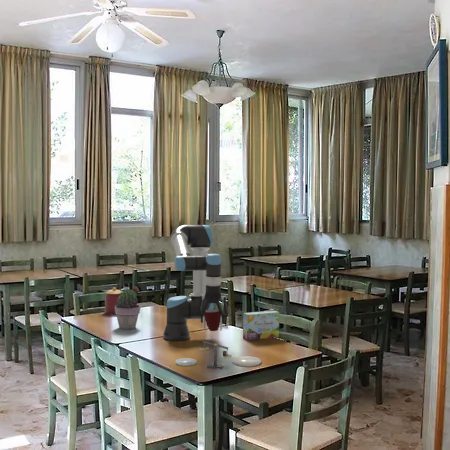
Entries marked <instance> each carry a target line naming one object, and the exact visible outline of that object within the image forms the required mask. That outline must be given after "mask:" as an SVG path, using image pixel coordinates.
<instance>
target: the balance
mask: <svg viewBox="0 0 450 450" xmlns="http://www.w3.org/2000/svg"><path fill="white" fill-rule="evenodd" d="M202 343H203V346H202V347H199V350H200V351H209V349H210V347H207V346H205V345H206V344H208V345H211V346H213V363H212V362H211V363H208V365H207V369H217V370H218V369H221V370H222V369H223V367H224V364H223V363H218V348H221V349H224V350H222V355H221V356H222V358H224V359H225V358H226V359H227V358H228V359H229V358H232V354H228V353H227V351H228V350H229V347H228V346H225V345H221V344H218V343H217V342H215V343H214V342H212V341H207V340H204V339H203V340H202Z"/></svg>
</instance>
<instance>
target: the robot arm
mask: <svg viewBox="0 0 450 450" xmlns="http://www.w3.org/2000/svg"><path fill="white" fill-rule="evenodd" d="M170 243H171V245H172V246H173V248H174V252H175V255H176V256H174V265H173V266H174V270H175V271H182V272H185V271H186V272H187V271H192V291H193V292H192V293H191V294H190V298H188V296H187V295H179V296H177V295H176V296H173V297H170V298H168V299H167V300H166V306H165V307H166V324H165V327H164V331H163V335H162V337H163V339H165V340H168V341H185V340H188V339H190V336H191V334H190V331H189V328H188V327H189V326H188V320H200V323H201V324H202V330H203V331H204V330H205V329H206V321H205V313H204V311H206V310H209V309H214V306H215V305H214V304H216V306H217V309H219V311H220V314H221V317H220V326H219V331H223V324H225V321H226V320H225V317H228V316H229V309H228V304H227V299H228V296H226V295H225V296H224V295H222V292H221V291H222V290H221V289H222V288H221V287H222V286H221V283H222V256H221V254H219V253H209V250H210V249H211V246H212V245H213V244H214V236H213V230H212V227H211V226H210V225H209V224H183V225H179V226H177V227H176V228H175V229H173V231H172V232H171V235H170ZM189 247H190V248H189ZM190 250H192V255H191V251H190ZM220 300H221V301H222V302H223V303H222V304H223V308H222V306H221V302H220Z"/></svg>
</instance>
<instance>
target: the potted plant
mask: <svg viewBox="0 0 450 450" xmlns="http://www.w3.org/2000/svg"><path fill="white" fill-rule="evenodd" d="M138 293H140V289H139V287H137V286H136V285H134V286H133V287H132V288H131V289H128V288H126V289H124V290H122V292H121V293H120V296H119V298H118V301H116V302H118V303H117V305H116V306H115V314H114V315H116V319H117V324H118V328H119V329H120V330H134V329H136V326H137V322H138V318H139V315H140V312H141V307H143V306H142V305H141V306H140V304H138V301H139V300H138V298H137V296H139V297H140V295H138ZM114 303H115V302H114ZM133 328H134V329H133Z"/></svg>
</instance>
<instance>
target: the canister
mask: <svg viewBox="0 0 450 450" xmlns="http://www.w3.org/2000/svg"><path fill="white" fill-rule="evenodd" d="M121 292H123V290H121V289H117V287H112V288H111V289H109V290H107V291H106V292H105V295H104V298H105V300H104V313H105V314H107V315H116V314H115V306H116V305H117V303H118V302H116V301H118V298H119V296H120V293H121ZM114 302H115V303H114Z"/></svg>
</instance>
